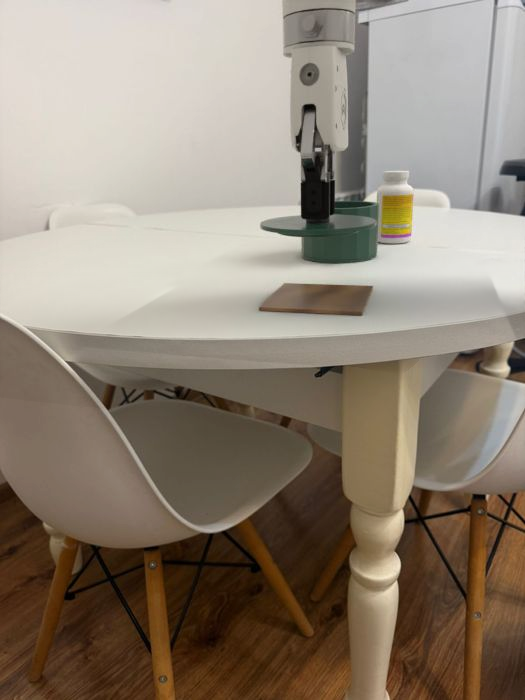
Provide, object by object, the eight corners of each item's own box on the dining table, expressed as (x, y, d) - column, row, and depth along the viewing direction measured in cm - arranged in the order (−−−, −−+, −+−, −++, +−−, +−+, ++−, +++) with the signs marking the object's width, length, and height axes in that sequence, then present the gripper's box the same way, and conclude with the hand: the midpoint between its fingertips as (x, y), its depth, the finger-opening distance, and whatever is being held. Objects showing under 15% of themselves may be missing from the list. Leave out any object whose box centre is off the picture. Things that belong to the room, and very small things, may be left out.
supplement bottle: (417, 242, 101) (421, 170, 96) (385, 245, 99) (388, 172, 95) (400, 237, 107) (403, 169, 102) (369, 240, 105) (371, 171, 101)
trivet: (373, 288, 70) (373, 285, 70) (362, 315, 59) (362, 311, 59) (284, 285, 73) (284, 282, 73) (258, 310, 63) (258, 307, 63)
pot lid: (381, 223, 68) (383, 168, 65) (369, 241, 56) (372, 174, 53) (277, 222, 71) (276, 170, 69) (245, 239, 59) (242, 176, 57)
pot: (381, 246, 98) (383, 198, 95) (370, 267, 82) (372, 210, 79) (313, 246, 102) (313, 199, 99) (290, 265, 86) (289, 211, 83)
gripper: (342, 18, 48) (339, 227, 55) (363, 47, 63) (359, 209, 69) (262, 26, 50) (268, 226, 57) (301, 52, 65) (302, 209, 71)
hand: (318, 215), depth 63 cm, fingers closed on pot lid, 2 cm apart
